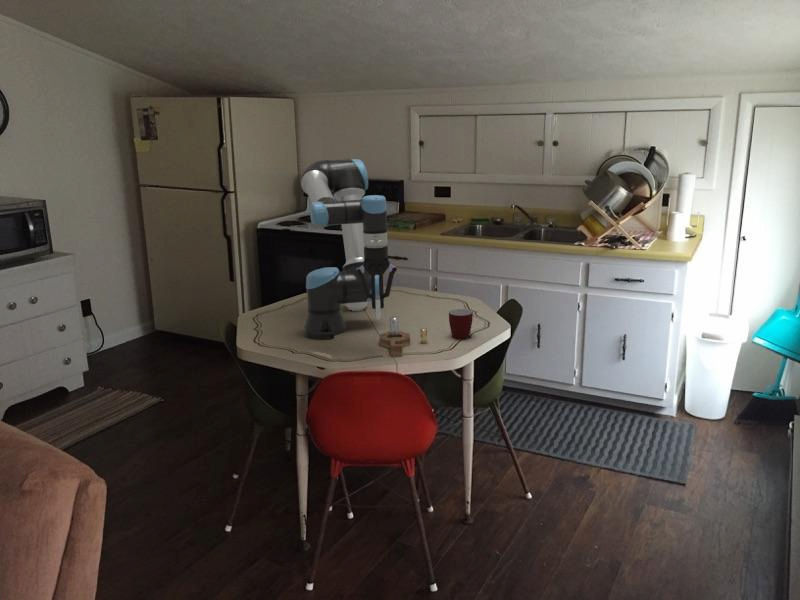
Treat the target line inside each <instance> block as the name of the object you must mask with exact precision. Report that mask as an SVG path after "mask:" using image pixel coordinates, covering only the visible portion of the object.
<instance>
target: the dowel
mask: <svg viewBox="0 0 800 600" xmlns="http://www.w3.org/2000/svg"><path fill="white" fill-rule="evenodd" d="M419 332H420V344H421V345H427V344H428V328H426V327H421V328H420V331H419Z"/></svg>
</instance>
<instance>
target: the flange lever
mask: <svg viewBox="0 0 800 600" xmlns="http://www.w3.org/2000/svg"><path fill="white" fill-rule="evenodd" d="M379 345H380V347H383V348H388V349H390V357H391V358H392V357H393V358H394V357H403V349H404V348H405V347H408V346H410V345H411V336H410V333H408V332H404V331H401V330H399V337H398V338H390V331H386V332H384V333H381V334H379Z"/></svg>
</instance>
